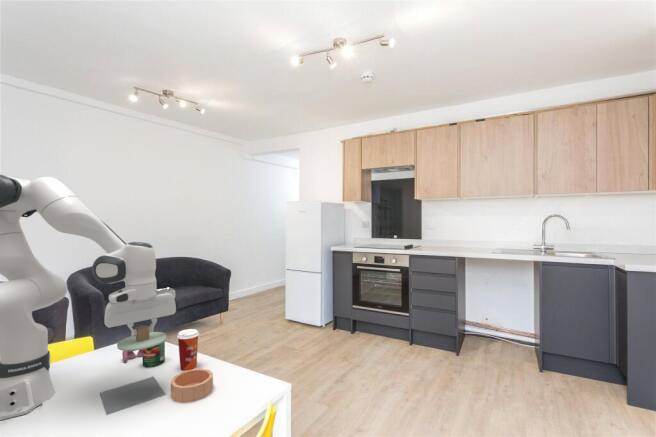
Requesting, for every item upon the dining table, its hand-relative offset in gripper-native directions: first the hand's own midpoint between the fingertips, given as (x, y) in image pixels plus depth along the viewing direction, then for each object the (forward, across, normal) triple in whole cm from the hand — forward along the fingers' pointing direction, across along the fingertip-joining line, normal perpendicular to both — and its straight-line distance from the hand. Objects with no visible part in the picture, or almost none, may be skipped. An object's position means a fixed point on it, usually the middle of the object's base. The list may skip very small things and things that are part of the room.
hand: (142, 334), depth 105 cm
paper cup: (+20, -17, -9) cm, 28 cm away
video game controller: (+20, -4, -34) cm, 39 cm away
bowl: (+20, -12, +10) cm, 25 cm away
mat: (+20, +3, -2) cm, 20 cm away
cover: (+3, 0, 0) cm, 3 cm away
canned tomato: (+20, -8, -22) cm, 31 cm away
